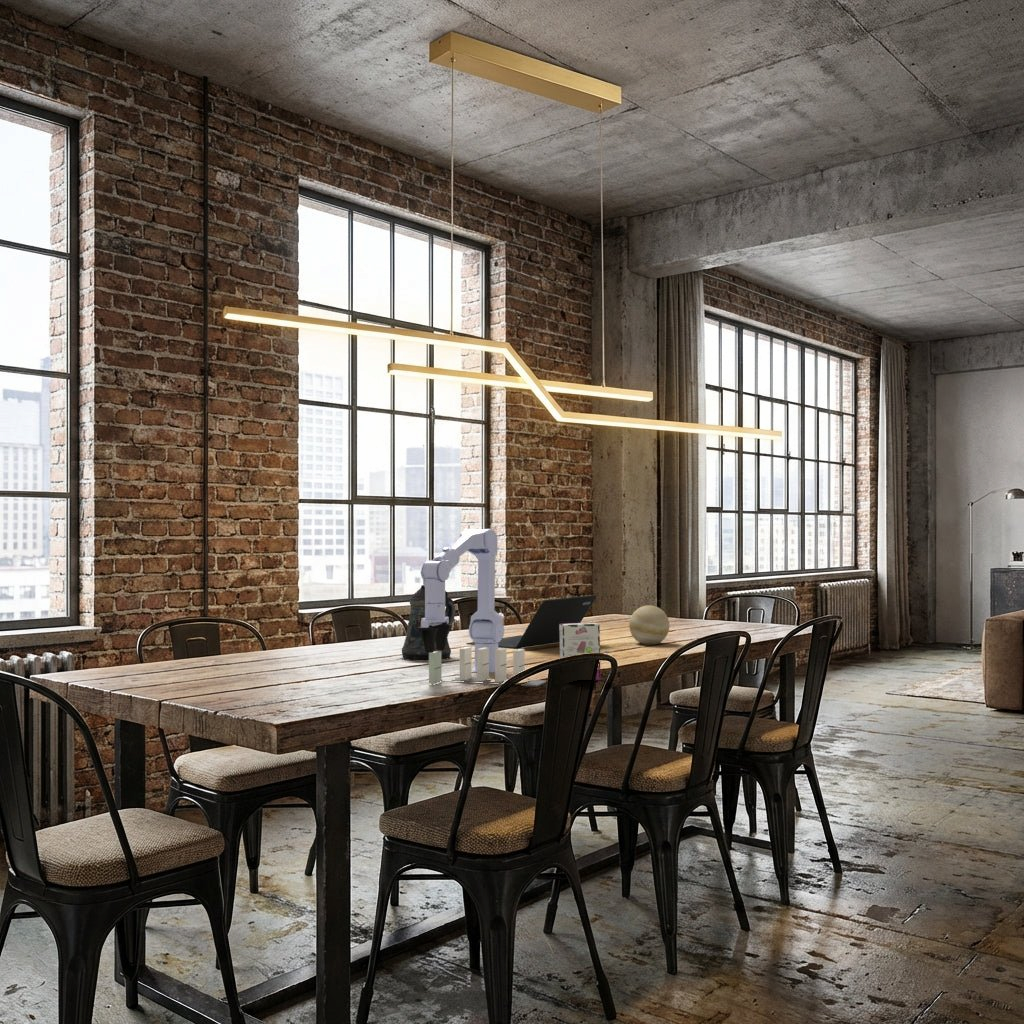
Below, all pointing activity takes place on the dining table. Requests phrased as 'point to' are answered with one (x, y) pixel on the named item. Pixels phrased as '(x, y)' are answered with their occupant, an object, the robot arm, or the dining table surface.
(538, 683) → the mat
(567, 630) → the candy bar box
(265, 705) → the dining table surface
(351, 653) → the dining table surface
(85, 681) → the dining table surface
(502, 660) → the domino
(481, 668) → the domino
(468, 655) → the domino
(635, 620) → the decorative ball
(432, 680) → the sage domino
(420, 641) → the beer stein
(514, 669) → the domino
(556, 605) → the laptop
